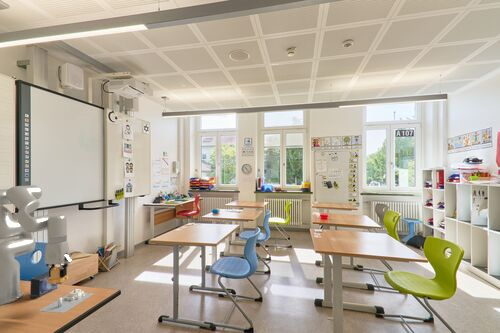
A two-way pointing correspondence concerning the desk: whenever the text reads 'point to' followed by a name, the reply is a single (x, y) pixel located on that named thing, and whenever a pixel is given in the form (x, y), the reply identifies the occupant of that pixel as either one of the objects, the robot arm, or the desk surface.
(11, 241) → the robot arm
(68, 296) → the cream gear
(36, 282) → the small box
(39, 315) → the desk surface
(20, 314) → the desk surface
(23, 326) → the desk surface
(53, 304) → the gear board
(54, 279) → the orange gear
